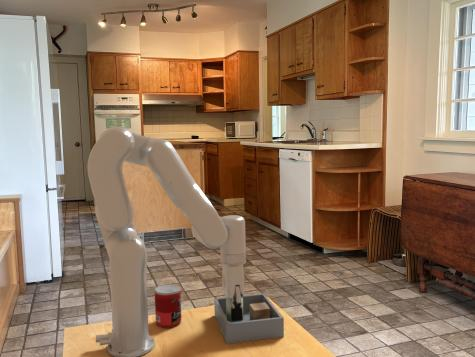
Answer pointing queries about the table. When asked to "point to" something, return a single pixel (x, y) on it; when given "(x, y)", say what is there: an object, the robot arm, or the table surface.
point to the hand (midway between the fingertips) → (234, 315)
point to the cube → (259, 311)
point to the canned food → (168, 305)
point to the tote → (249, 321)
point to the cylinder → (228, 309)
